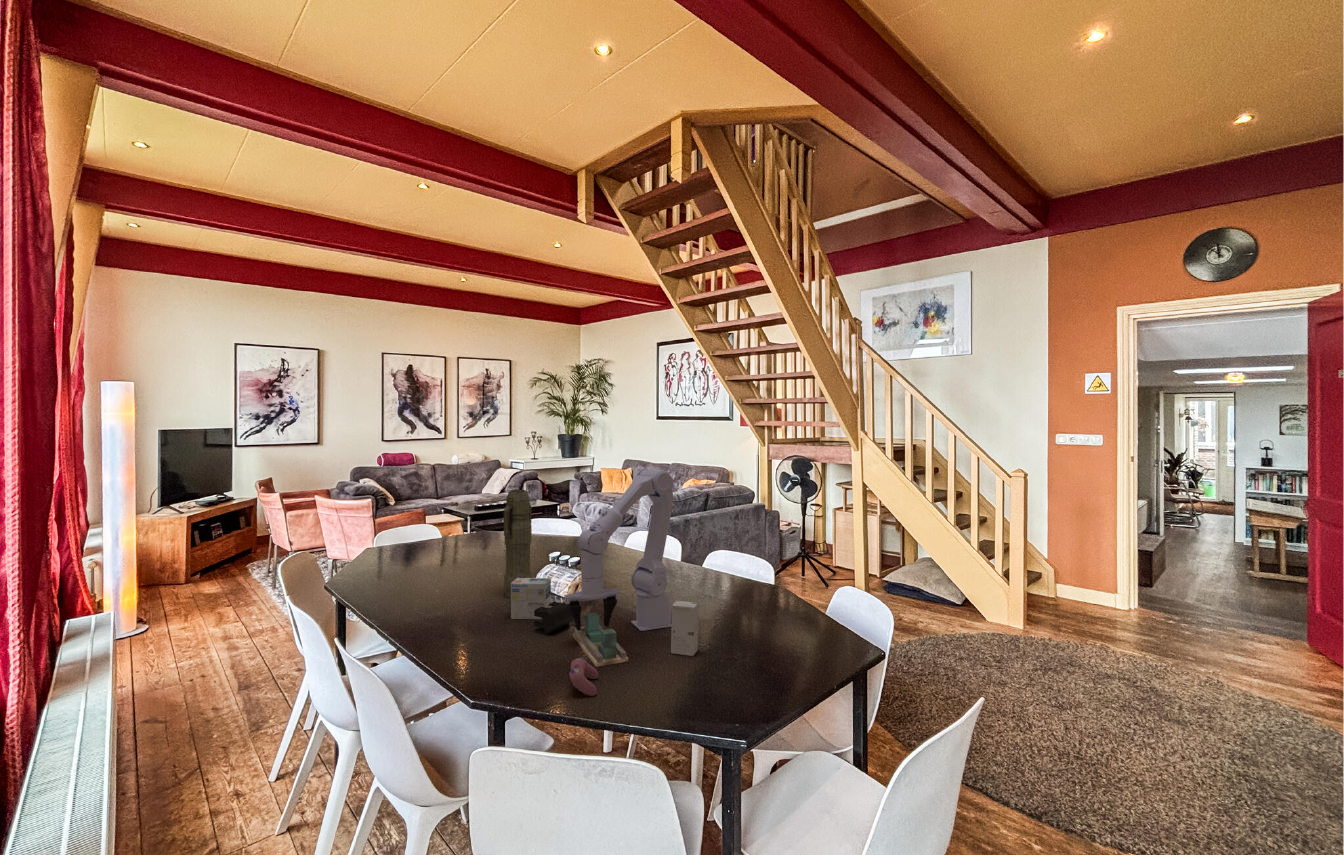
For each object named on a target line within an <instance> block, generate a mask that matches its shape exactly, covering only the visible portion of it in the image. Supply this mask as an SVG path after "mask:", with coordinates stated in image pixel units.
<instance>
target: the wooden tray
mask: <svg viewBox="0 0 1344 855" xmlns="http://www.w3.org/2000/svg"><path fill="white" fill-rule="evenodd" d="M599 631H600V632H601V642H595V643H592V642H591V641H590V640H589V639H588V638H587V636H586V635H585V626H581V629H580V631H577V629H576V627H574V632H573V633H572V638H573V639H574V640H575V641H576V642H578V643H577V644H578V645H579V647H580V648H581V649H582V650H583V652H584V653H585V654H586V656H587V657H588V659H589V660H590V661H591V662H592V664H593V665H594V666H595V667H596V668H598V667H602V666H607V665H608V666H609V665H615V664H620V663H621V664H622V663H626V662H629V657H628V656H627V652H626V651H625V649H624V648H623V647H622V646H621V645H620V644H619V643H618V642H617V632H616V631H615V629H613V628H609V629H608V628H607V629H605V628H604V627H603V626H602V625H601V624H599Z"/></svg>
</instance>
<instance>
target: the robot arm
mask: <svg viewBox="0 0 1344 855" xmlns="http://www.w3.org/2000/svg"><path fill="white" fill-rule="evenodd" d="M674 482H675V480H674V479H673V477H672V475H671V474H670V473H669V472H668V470H664V469H662V470H656V469H648V468H642V469H640V470H639V471H638V472H637V473H636V475H635V476H633V477H632V481H631V484H630V485H629V486H628V488H627V489H626V490H625V491H624V492H623V494H622V496H621V497H620V498H619V499H618V501H617V502H616V503H615V504H614V506H613V507H609V508H606V509H602V510H601V512H600V516H599V517H598V518H597V519H596V520H595V521H594V523H592V524H590V525H589V528H588V529H585V530H584V531H582V532H581V533H580V534H579V536H578V540H576V545H577V548H578V549H579V550H580V556H581V557H580V558H581V559H580V560H581V561H580V563H581V564H580V566H581V567H580V568H581V573H580V574H581V576H580V577H581V578H580V580H581V585H580V586H581V591H578V592H573V593H568V594H564V597H563V598H564V600H563V602H565V603H566V604H568V605H569V607H570V609H571V612H572V614H573V617H574V620H573V622H574V624H575V628H576V629H577V631H580V629H581V627H582V626H581V625H582V624H581V612H582V606H581V604H580V603H582V602H588V601H597V600H602V601H603V625H604V627H606V628H607V627H609V626H610V622H611V619H612V614H613V612H614V610H615V607H616V606H617V603H618V599H619V598H620V597H621V593H620V589H618V588H612V589H611V588H610V589H609V588H608V589H606V588H604V551H605V550H607V549H608V545H609V541H610V538H611V537H612V536H613V535H614V533H615V532H616V531H617V530H618V528H620V526H621V525H622V524H623V519H624V518H623V516H624V515H626V513H627V512H628V511H629V510H630V509H631V508H632V507H633V506H634V505H635V504H636V503H637V502H638V500H640V499H641V498H642V497H645V496H648V497H649V499H650V500H651V502H652V503H653V506H652V510H651V516H650V520H649V527H648V531H647V537H646V542H645V547H644V551H643V552H644V553H643V557H642V558H640V560H638V561H637V562H636V566H635V569H634V571H633V572H632V574H631V577H630V583H631V585H632V587H633V588H634V589H635V591H634V592H635V593H636V595H635V597H636V601H635V603H636V605H635V607H636V609H635V610H636V611H635V612H636V613H635V614H636V615H635V616H636V620H631V624H632V625H633V626H635V627H636V628H637V629H638V630H639V631H640V632H644V631H650V630H658V629H663V628H670V627H671V628H672V603H671V602H672V601H671V597H670V595H669V593H668V592H666V590H667V586H668V579H667V572H668V569H667V567H666V566H665V564H664V562H663V558H664V554H665V547H666V542H667V538H668V532H669V527H670V520H671V517H672V509H673V506H674V501H675V500H674V494H673V488H674V484H675V483H674Z"/></svg>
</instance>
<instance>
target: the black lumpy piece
mask: <svg viewBox="0 0 1344 855" xmlns="http://www.w3.org/2000/svg"><path fill="white" fill-rule="evenodd" d="M549 606H551V608H546V607H540V608H537V609H535V611H534V616H536V617H541V618H542V619H541V621H539V620H534V621H533V623H534V624H533V626H534V627H535V629H534V630H535V633H538V634H542V635H548V634H550V633H552V632H555V631H557V630H560V629H561V628H564V627H566V626H568V625H569V624H571V623H572V622H574V617H573V614H572V612H571V609H570V607H569V605H568V604H566V603H565V602H564V601H563V602H557V601H552V602H551V603H550V604H549Z"/></svg>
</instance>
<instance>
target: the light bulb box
mask: <svg viewBox="0 0 1344 855" xmlns="http://www.w3.org/2000/svg"><path fill="white" fill-rule="evenodd" d="M551 581H552V578H551V577H532V578H517V579H515V580H514V581H513V582H512V583H511V598H510V620H542V618H541V617H536V616H534V611H535V609H537V608H540V607H546V608H551V607H552V606H549V604H550V603H552V582H551Z"/></svg>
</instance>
